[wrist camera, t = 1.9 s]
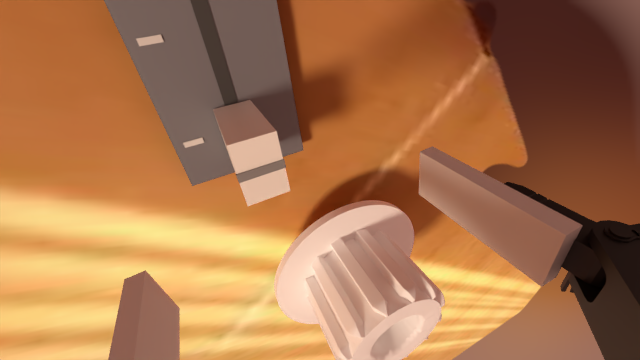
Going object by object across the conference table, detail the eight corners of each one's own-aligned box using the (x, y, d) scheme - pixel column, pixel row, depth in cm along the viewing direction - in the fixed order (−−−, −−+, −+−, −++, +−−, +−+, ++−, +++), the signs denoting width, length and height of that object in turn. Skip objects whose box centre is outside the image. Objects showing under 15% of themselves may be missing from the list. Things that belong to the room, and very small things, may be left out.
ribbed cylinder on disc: (301, 311, 56) (345, 417, 42) (235, 240, 41) (268, 370, 26) (400, 243, 59) (474, 319, 45) (373, 154, 44) (473, 226, 29)
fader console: (191, 177, 34) (192, 186, 32) (-58, -354, 15) (-88, -402, 13) (298, 144, 38) (303, 150, 36) (211, -312, 18) (215, -344, 17)
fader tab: (229, 159, 32) (247, 207, 24) (212, 109, 29) (226, 146, 21) (263, 148, 33) (291, 191, 25) (250, 99, 30) (277, 131, 22)
